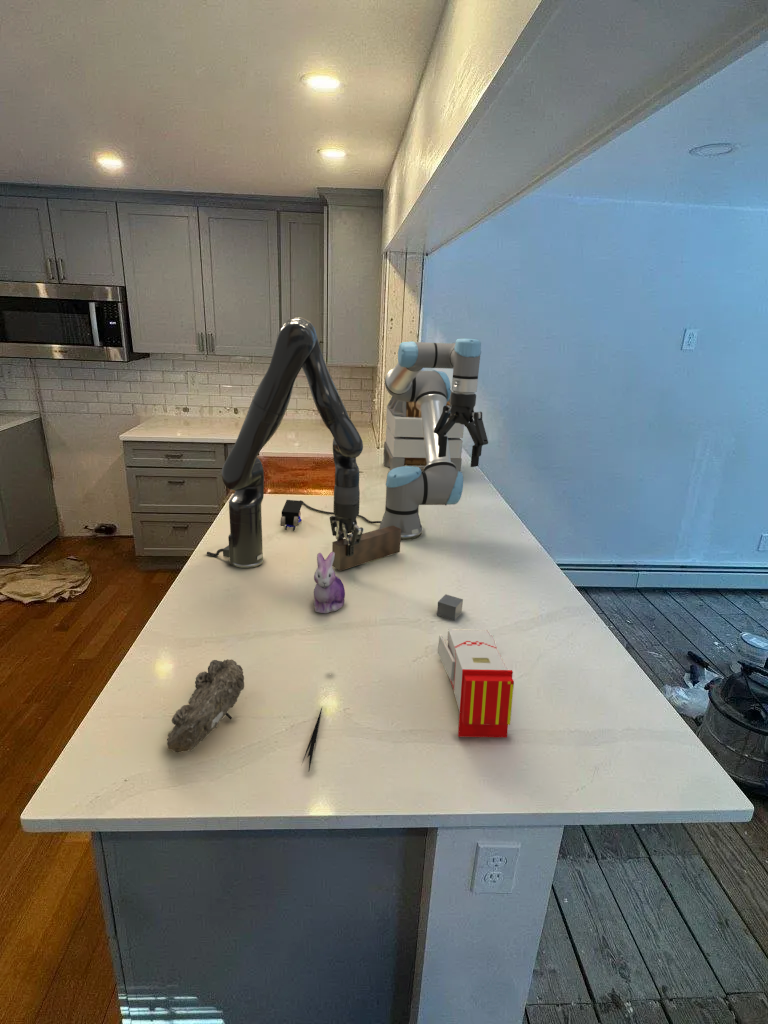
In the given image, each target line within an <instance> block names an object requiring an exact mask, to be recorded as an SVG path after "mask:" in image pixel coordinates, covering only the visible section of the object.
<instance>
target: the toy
mask: <svg viewBox="0 0 768 1024" xmlns="http://www.w3.org/2000/svg"><path fill="white" fill-rule="evenodd" d="M446 640H447V643H446V641H445V639H444V636H443V635H442V634H439V637H438V646H437V656H438V657H439V659H440V661H441V663H442V666H443V668H444V670H445V672H446V674H447V677H448V679H449V681H450V684H451V687H452V690H453V693H454V697H455V701H456V705H457V708H458V711H459V714H458V715H459V716H458V730H457V731H458V732H457V737H458V738H508V731H509V726H510V725H511V717H512V707H513V697H514V696H513V695H514V684H515V680H514V679H513V673H514V671H513V670H512V669H508V667H507V665H506V662H505V661H504V659H503V658H502V655H501V653H500V651H499V649H498V647H497V643H496V639H495V637H494V635H493V634H491V632H490V631H489V629H467V628H466V629H465V628H463V629H461V628H460V629H459V628H448V630H447V639H446Z"/></svg>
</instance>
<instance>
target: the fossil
mask: <svg viewBox="0 0 768 1024" xmlns="http://www.w3.org/2000/svg"><path fill="white" fill-rule="evenodd" d="M243 670H244V669H243V667H242V665H240V664H237V662H236V661H235V660H234V659H232V658H231V659H227V658H226V659H224V660H223V661H222V660H217V659H212V660H211V661H210V663H209V665H208V666H207V671H201V672H199V673H198V674H197V675H196V676H195V680H194V684H195V685H194V687H195V689H194V690H193V693H192V694H191V697H190V698H189V700H188V704H184V705H182V706H181V707H180V709H177V710H176V711H175V713H174V715H173V716H172V718H171V723H172V724H173V727H172V730H171V731H170V732H168V734H167V738H166V741H167V742H166V745H167V749H168V750H169V751H173V752H174V753H176V754H178V753H182V752H188V751H189V752H192V751H193V750H195V748H196V747H197V746H199V744H200V743H201V742H203V741H204V740H205V739H206V738H207V737H208V736H209V735H210V734H211V733H212V732H214V730H215V729H217V727H218V726H219V724H220V722H221V721H222V720H223V719H224V718H225V716H226V717H227V719H229V720H233V717H232V715H230V714H229V710H230V709H231V708H234V706H235V704H236V703H237V702H238V699H239V697H240V695H241V693H242V691H243V690H245V689H244V688H245V675H244V671H243Z"/></svg>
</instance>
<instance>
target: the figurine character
mask: <svg viewBox="0 0 768 1024" xmlns="http://www.w3.org/2000/svg"><path fill="white" fill-rule="evenodd" d="M303 502H304V501H303V500H301V501H300V500H297V499H296V500H295V499H286V501H285V503H284V505H283V507H282V510H281V517H280V521H279V522H280V527H284V531H287V530H288V528H292V531H293V532H295V531H296V527H298V526H299V524H300V522H302V518H301V516H302V515H301V509H302V506H303Z"/></svg>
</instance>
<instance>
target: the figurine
mask: <svg viewBox="0 0 768 1024" xmlns="http://www.w3.org/2000/svg"><path fill="white" fill-rule="evenodd" d="M334 557H335V553H334V552H332V551H331V552H330V553H329V554H328V555H327V556H326V558H325V557H324V555H323V554H322V553H321V552H318V553H317V555H316V563H317V565H316V566H317V568H316V569H315V571H314V575H313V580H314V582H315V585H314V588H313V598H314V601H313V606H314V612H316V613H322V614H329V613H332V612H336V611H338V610H340V609H341V608H342V607H344V604H345V598H346V589H345V585H344V583H343V581H342V580H341V578H340V577H339V576H336V572H335V569H334V567H332V564H333V561H334Z"/></svg>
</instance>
